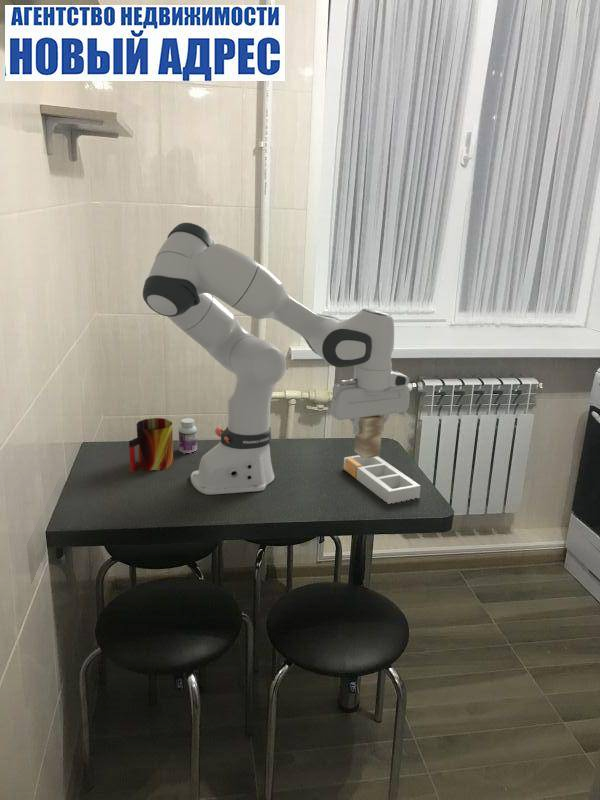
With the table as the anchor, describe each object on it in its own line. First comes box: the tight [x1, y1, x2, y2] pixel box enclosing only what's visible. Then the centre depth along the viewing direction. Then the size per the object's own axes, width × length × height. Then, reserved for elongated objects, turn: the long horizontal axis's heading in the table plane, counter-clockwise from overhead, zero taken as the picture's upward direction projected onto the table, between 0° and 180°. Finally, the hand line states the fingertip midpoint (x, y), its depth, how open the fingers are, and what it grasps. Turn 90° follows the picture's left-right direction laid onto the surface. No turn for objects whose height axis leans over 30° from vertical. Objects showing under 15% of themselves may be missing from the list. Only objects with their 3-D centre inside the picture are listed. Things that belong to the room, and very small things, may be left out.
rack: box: [343, 454, 421, 505], centre depth 173 cm, size 10×24×4 cm, turn 25°
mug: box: [128, 417, 174, 473], centre depth 177 cm, size 10×14×12 cm
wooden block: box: [353, 415, 383, 459], centre depth 156 cm, size 5×5×10 cm
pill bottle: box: [178, 417, 198, 454], centre depth 189 cm, size 5×5×10 cm
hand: (368, 432), depth 156 cm, fingers closed on wooden block, 5 cm apart
